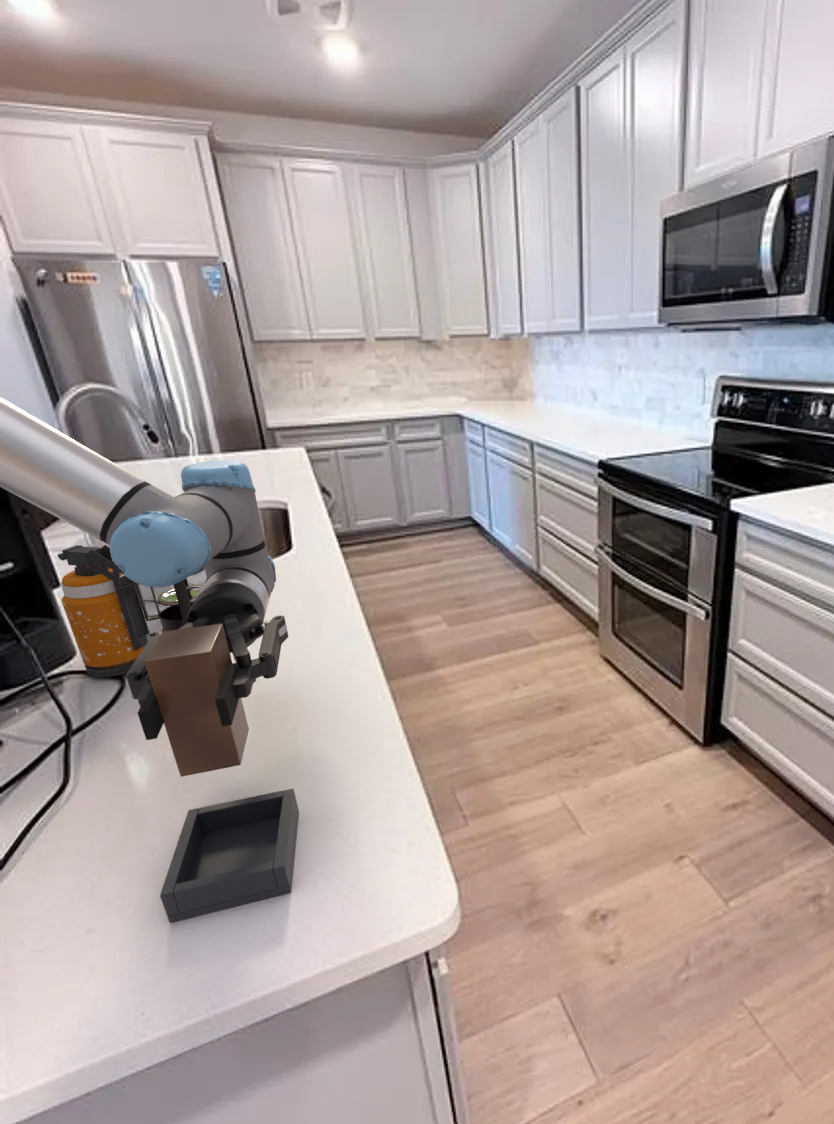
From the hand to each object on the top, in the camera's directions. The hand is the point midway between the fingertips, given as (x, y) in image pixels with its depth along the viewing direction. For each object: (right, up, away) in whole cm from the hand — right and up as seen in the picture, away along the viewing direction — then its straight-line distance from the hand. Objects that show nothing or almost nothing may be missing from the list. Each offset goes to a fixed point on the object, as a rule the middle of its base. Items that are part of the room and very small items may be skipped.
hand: (186, 718), depth 52 cm
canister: (-37, -2, +45) cm, 58 cm away
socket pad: (0, -16, +9) cm, 18 cm away
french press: (-35, +4, +59) cm, 68 cm away
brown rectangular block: (-2, -5, +7) cm, 9 cm away
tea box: (-48, +11, +76) cm, 91 cm away
